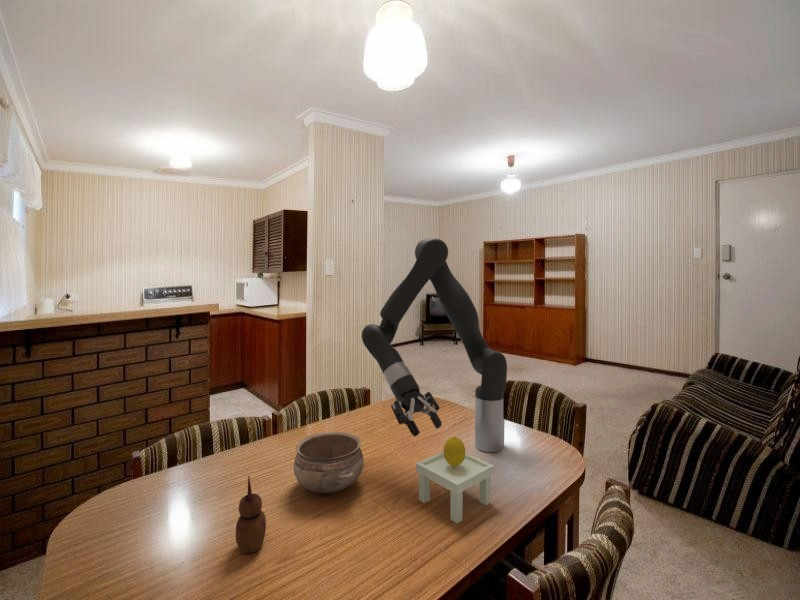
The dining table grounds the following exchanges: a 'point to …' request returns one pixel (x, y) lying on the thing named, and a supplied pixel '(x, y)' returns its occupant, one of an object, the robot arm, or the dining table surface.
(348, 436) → the cooking pot
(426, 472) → the stool
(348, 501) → the dining table surface
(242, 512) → the wooden figurine
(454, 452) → the lemon
